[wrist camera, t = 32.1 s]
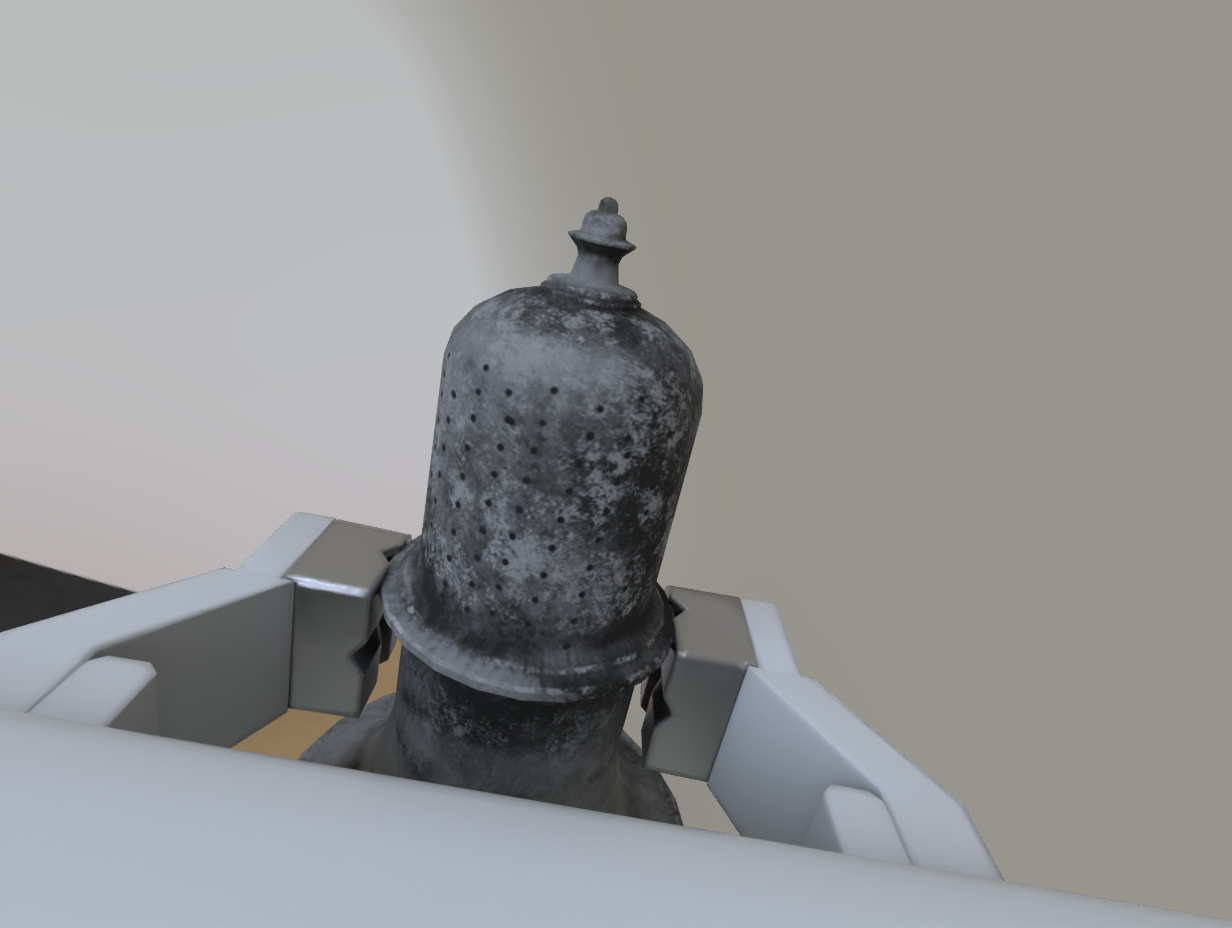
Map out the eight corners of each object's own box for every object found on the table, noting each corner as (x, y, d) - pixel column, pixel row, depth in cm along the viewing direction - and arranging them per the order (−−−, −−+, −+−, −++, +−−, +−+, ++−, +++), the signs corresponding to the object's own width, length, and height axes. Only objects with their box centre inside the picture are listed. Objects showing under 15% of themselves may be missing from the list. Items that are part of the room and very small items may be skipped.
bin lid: (-43, 853, 15) (-36, 832, 15) (324, 576, 26) (333, 560, 26) (500, 1265, 15) (521, 1254, 15) (629, 811, 27) (643, 798, 26)
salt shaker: (293, 1366, 8) (401, 174, 3) (228, 888, 12) (233, 109, 7) (709, 1076, 11) (1046, 299, 6) (538, 785, 15) (670, 203, 11)
